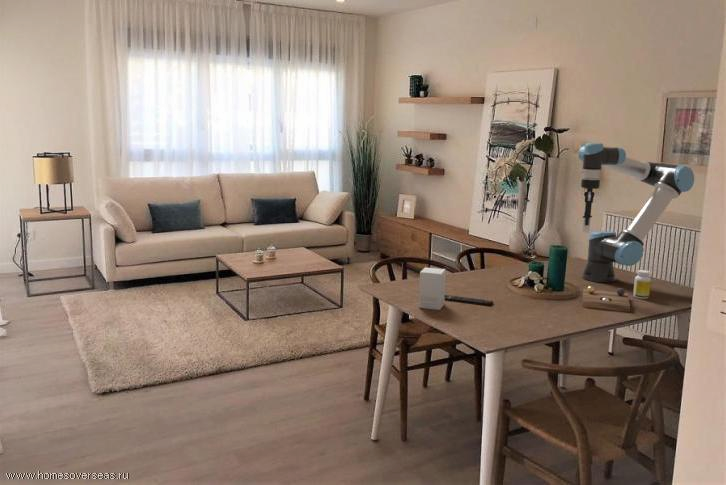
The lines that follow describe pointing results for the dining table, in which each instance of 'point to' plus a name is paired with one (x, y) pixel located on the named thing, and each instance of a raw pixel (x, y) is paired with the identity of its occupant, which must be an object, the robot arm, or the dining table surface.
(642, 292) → the pill bottle
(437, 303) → the supplement box
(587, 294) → the board
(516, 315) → the dining table surface
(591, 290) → the brass ball
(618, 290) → the rubber ball
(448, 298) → the remote control
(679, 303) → the dining table surface
